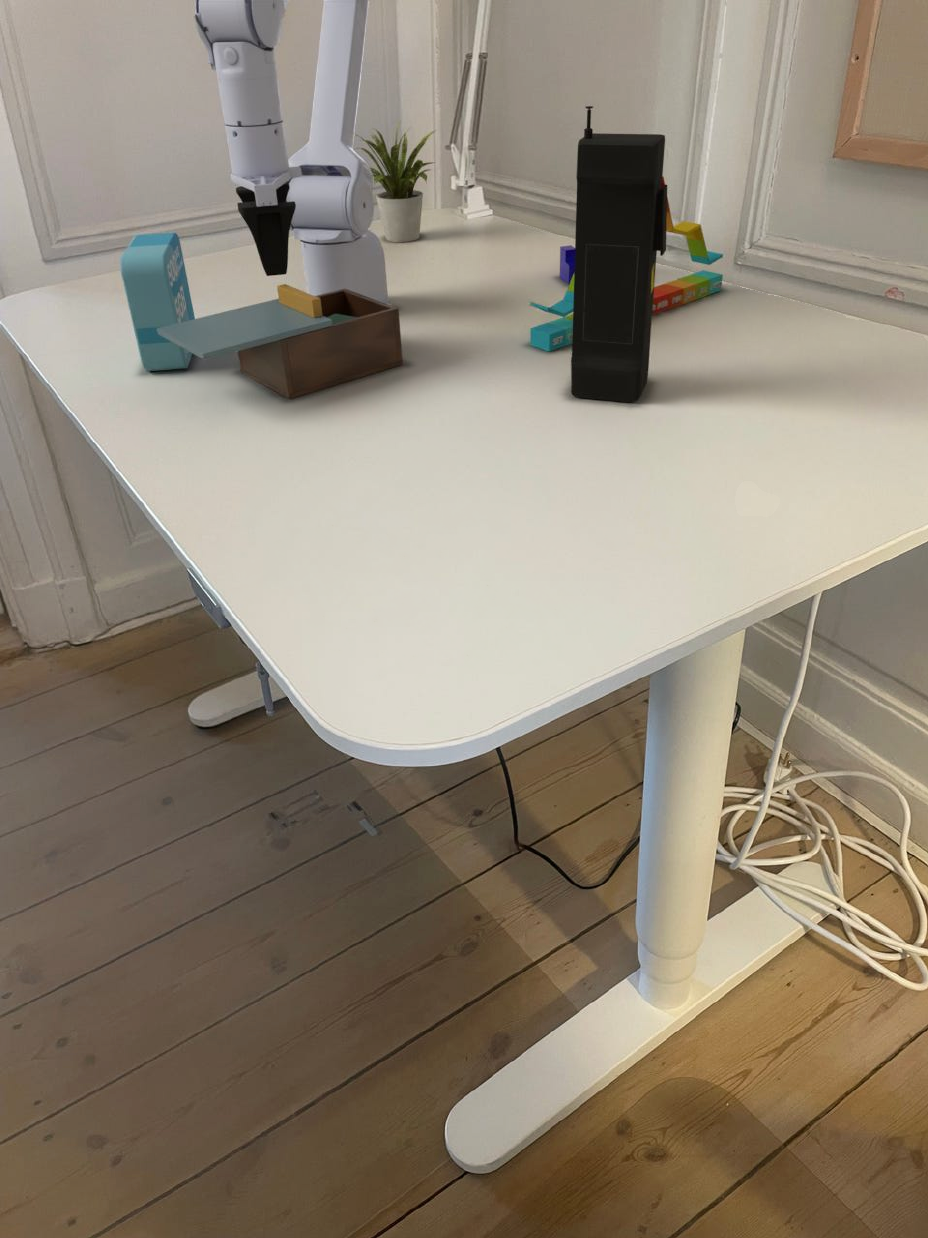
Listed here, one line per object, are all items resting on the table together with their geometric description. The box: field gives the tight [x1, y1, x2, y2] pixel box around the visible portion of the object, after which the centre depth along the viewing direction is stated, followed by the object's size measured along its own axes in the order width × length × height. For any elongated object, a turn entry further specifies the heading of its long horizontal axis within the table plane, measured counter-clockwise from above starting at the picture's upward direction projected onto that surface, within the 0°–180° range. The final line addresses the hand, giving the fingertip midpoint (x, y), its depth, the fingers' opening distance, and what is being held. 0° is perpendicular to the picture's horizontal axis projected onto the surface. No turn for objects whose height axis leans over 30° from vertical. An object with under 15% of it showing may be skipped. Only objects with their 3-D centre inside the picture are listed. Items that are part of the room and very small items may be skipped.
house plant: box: [353, 119, 437, 243], centre depth 144 cm, size 14×14×16 cm
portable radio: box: [570, 105, 668, 403], centre depth 88 cm, size 8×6×25 cm
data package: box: [119, 232, 196, 372], centre depth 105 cm, size 12×4×12 cm, turn 7°
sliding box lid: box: [157, 283, 333, 361], centre depth 95 cm, size 14×10×2 cm
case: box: [236, 289, 404, 400], centre depth 101 cm, size 14×10×6 cm
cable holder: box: [559, 244, 575, 286], centre depth 126 cm, size 8×4×4 cm, turn 105°
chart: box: [529, 176, 724, 352], centre depth 109 cm, size 30×3×15 cm, turn 131°
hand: (274, 264), depth 102 cm, fingers open, 7 cm apart
